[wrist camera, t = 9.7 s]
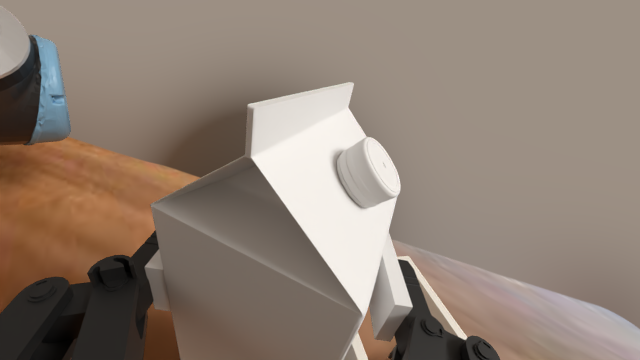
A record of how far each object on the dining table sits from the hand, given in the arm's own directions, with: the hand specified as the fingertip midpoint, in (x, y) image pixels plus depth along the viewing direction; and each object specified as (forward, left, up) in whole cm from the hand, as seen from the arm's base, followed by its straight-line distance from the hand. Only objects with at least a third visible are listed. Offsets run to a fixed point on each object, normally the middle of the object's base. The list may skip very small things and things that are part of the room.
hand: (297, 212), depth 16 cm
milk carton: (+4, -1, -11) cm, 12 cm away
